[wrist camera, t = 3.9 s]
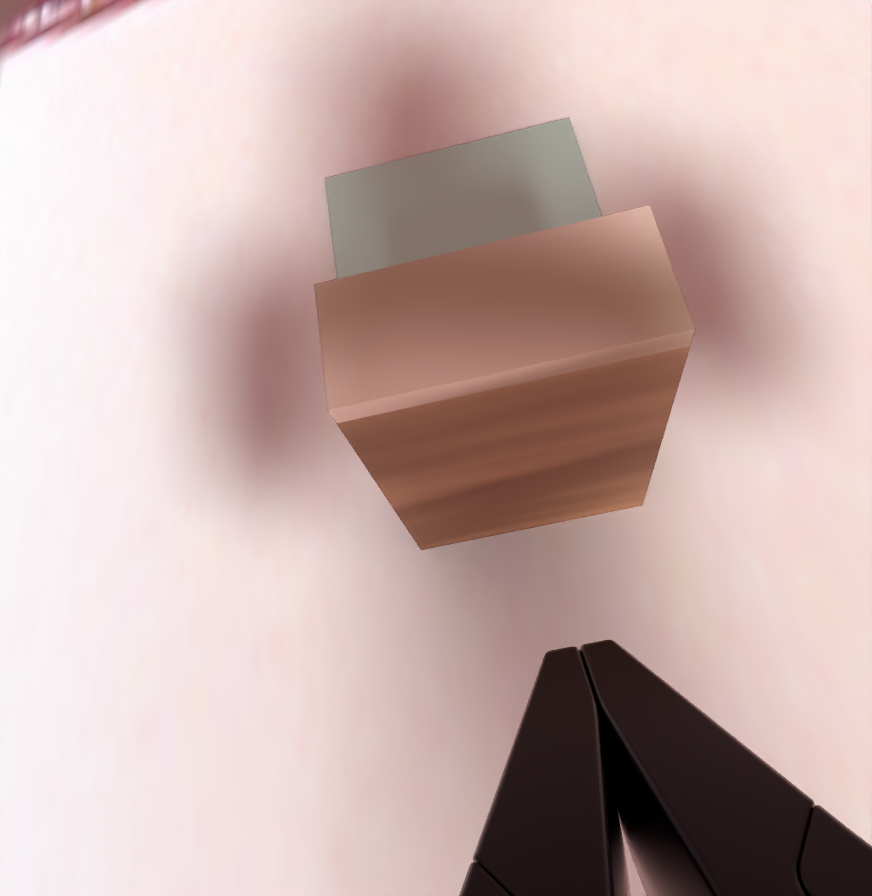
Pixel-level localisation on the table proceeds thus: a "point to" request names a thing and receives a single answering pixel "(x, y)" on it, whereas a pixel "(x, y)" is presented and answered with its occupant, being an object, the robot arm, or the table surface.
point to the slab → (510, 375)
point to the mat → (459, 198)
